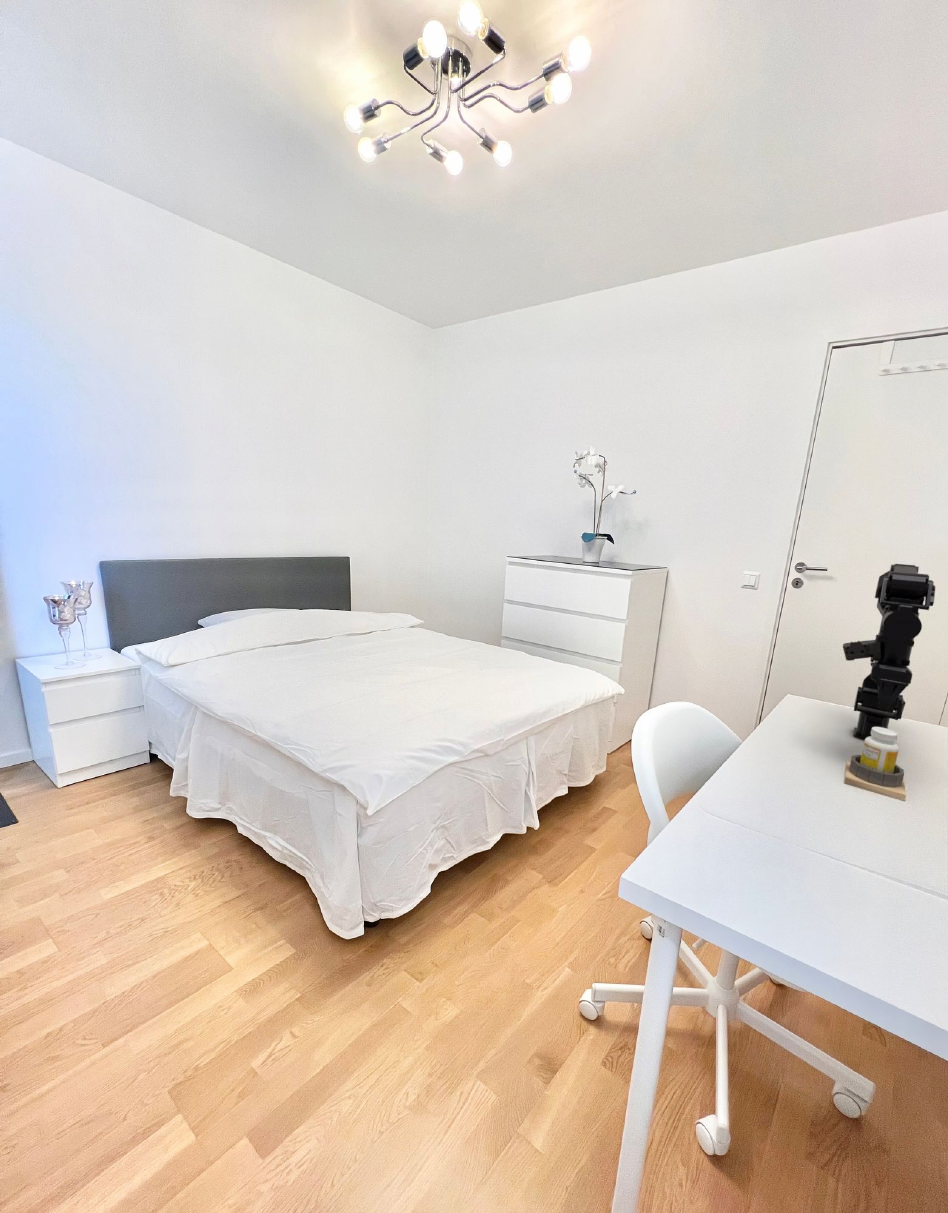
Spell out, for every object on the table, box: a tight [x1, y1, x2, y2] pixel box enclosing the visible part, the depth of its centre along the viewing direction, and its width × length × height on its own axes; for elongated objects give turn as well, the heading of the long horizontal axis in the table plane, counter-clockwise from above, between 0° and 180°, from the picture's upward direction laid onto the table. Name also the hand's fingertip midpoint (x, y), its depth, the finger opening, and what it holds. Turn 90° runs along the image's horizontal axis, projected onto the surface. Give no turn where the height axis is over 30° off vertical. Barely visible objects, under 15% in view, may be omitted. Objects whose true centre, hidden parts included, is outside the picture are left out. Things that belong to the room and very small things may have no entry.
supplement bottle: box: [860, 727, 900, 774], centre depth 101 cm, size 5×5×10 cm
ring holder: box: [844, 754, 907, 802], centre depth 101 cm, size 10×9×4 cm
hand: (881, 703), depth 109 cm, fingers open, 9 cm apart
